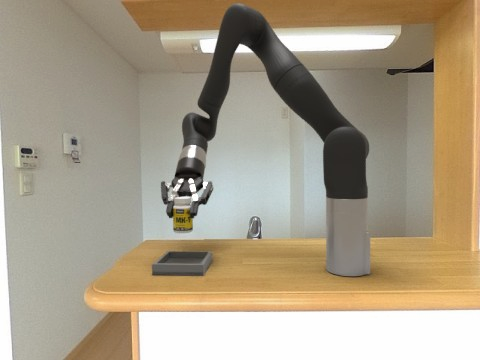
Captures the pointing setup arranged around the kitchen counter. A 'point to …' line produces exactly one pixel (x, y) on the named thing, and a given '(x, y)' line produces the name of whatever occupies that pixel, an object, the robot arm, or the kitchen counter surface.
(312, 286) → the kitchen counter surface
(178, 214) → the supplement bottle
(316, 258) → the kitchen counter surface
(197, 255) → the tray
